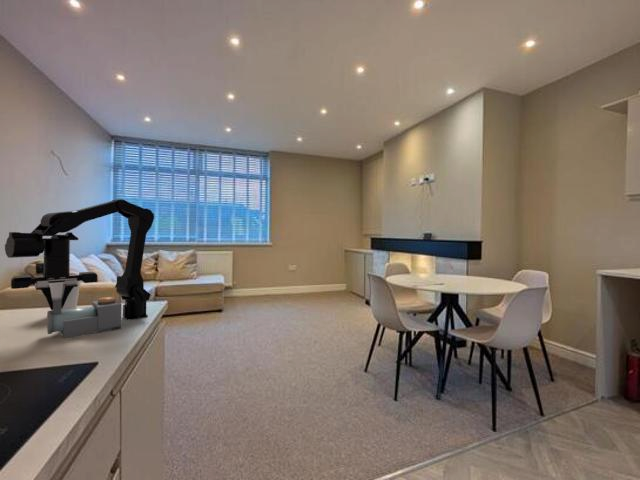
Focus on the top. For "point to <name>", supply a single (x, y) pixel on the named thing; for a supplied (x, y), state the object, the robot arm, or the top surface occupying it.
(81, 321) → the housing
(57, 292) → the foam cup
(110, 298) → the plunger
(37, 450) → the top surface
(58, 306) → the cartridge
